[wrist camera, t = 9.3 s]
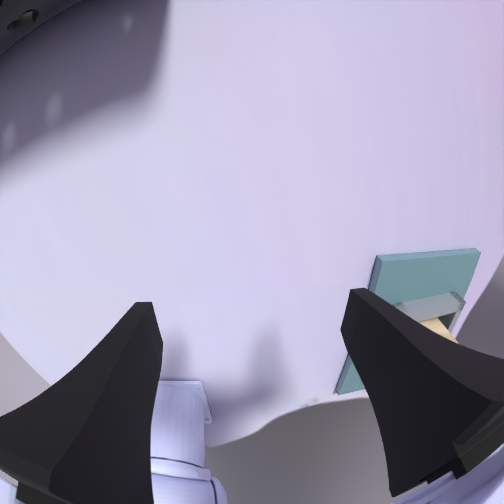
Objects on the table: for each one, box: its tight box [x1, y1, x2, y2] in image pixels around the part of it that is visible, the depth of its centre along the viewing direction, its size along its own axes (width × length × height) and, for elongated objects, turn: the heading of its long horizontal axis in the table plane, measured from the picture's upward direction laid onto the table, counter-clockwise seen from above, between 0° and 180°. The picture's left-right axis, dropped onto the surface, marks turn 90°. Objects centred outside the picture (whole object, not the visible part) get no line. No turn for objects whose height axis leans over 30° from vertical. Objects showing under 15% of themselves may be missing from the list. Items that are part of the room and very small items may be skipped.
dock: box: [336, 248, 481, 395], centre depth 24 cm, size 18×14×3 cm
